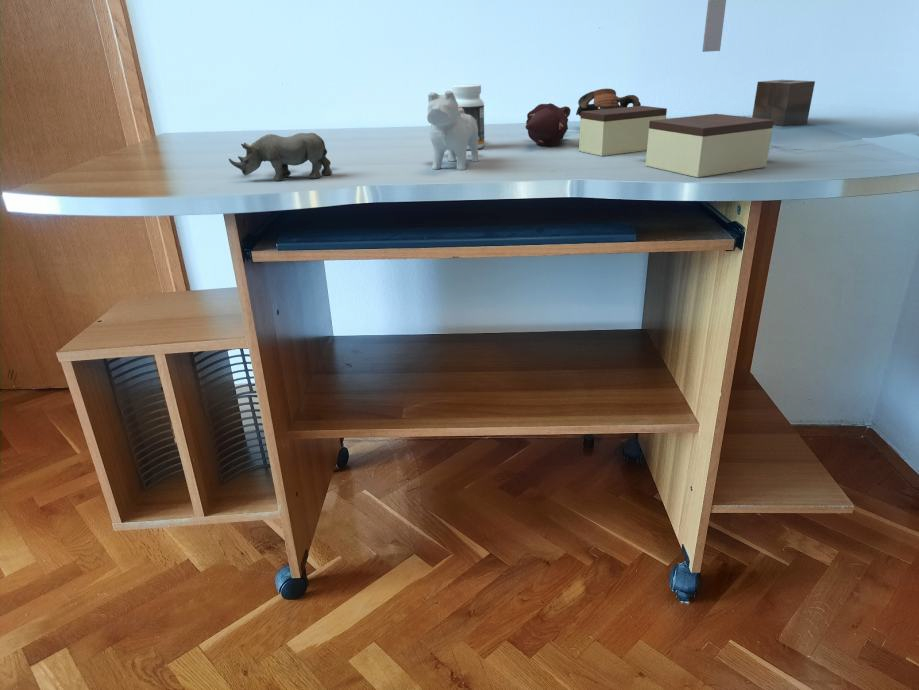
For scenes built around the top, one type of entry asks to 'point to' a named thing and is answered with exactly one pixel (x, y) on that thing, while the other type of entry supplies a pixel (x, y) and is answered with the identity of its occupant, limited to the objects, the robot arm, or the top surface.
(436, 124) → the dog figurine
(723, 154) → the cake
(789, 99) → the knife block
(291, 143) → the rhino figurine
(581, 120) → the cake slice
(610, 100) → the pottery mug
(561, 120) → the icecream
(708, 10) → the knife
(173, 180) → the top surface
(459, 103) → the pill bottle
